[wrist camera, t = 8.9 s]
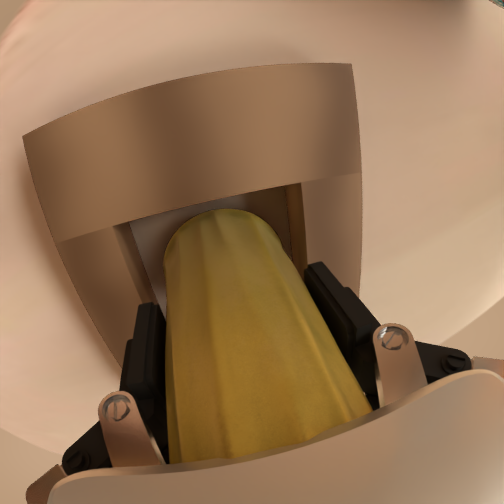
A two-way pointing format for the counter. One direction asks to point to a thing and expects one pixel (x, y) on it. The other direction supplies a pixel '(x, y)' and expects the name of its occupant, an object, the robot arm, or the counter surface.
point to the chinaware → (498, 3)
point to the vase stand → (199, 173)
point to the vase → (246, 345)
